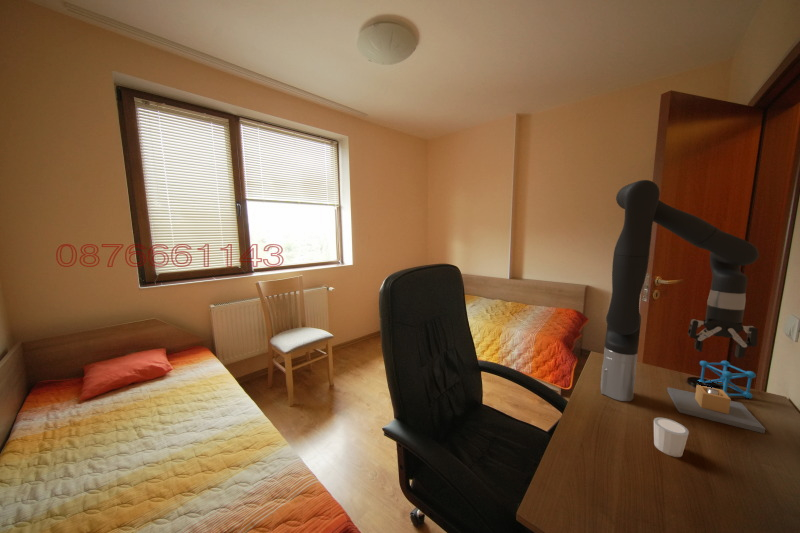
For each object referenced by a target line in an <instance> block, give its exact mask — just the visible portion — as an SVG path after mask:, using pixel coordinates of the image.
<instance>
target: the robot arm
mask: <svg viewBox="0 0 800 533" xmlns="http://www.w3.org/2000/svg"><path fill="white" fill-rule="evenodd" d="M615 197H616V199H615V200H616V204H618V206H619V207H620V208H621V209H623V210H624V222H623V226H622V229H621V232H620V234H619V236H618V239H617V240H616V243H615V247H614V249H613V256H612V265H611V266H612V268H611V269H612V271H611V284H612V285H611V286H612V288H611V290H612V292H611V298H610V303H609V308H608V311H607V314H606V318H605V319H606V320H605V321H606V324H607V325H606V333H605V338H604V348H603V349H604V350H603V362H602V364H601V374H600V375H601V376H600V385H599V386H600V392H601V395H605V396H607V397H609V398H610V399H613V400H615V401H621V402H631V401H633V399H634V395H635V394H634V391H635V382H636V372H637V361H638V352H639V345H640V344H639V342H640V334H641V326H642V325H641V324H642V323H641V322H642V315H641V313H640V299H641V294H642V289H643V287H644V284H645V281H646V276H647V273H648V267H649V262H650V261H649V260H650V253H651V242H652V241H651V240H652V230H653V224H654V223H656V224H658V225H660V226H661V227H663V228H664V229H666V230H667V231H669V232H671V233H672V234H675V235H676V236H678V237H679V238H681V239H682V240H685V241H687V243H689V244H691V245H693V246H695V247H696V248H699V249H702V250H706V251H709V252H710V253H709V263H710V270H711V274H712V279H711V285H710V290H709V295H708V299H707V301H706V303H707V306H706V312H705V318H704V320H698V319H695V318H691V319H690V322H689V324H688V330H687V335H688V336H689V337H690V338H692V339H694V345H693V347H694V349H695V350H697V352H699V353H702V352H703V346H704V340H705V339H707V338H711V336H714V337H723V338H726V339H730V338H732V339H733V340H734V341H735V342H736V343H737V344H736V345H735V351H734V357H735V358H737V359H742V358H744V357H745V355H746V349H747V348H748V347H749V348H750V347H752V348H755V347H757V345H758V332H759V329H758V327H755V326H753V325H747V326H746V325H743V321H744V320H743V319H744V314H745V307H746V302H747V299H746V295H747V294H746V292H747V288H748V276H747V275H746V274H744V273H742V271H741V267H742V266H749V265H752V264H753V263H755V262H756V261H757V260H758V259H759V257H760V253H759V250H758V248H757V247H756V246H755V244H752V243H751V242H749V241H747V240H745V239H743V238H740V237H738V236H735V235H733V234H731V233H728V232H725V231H723V230H721V229H719V228H718V227H716V226H715V225H713V224H711V223H709V222H708V221H705V220H704V219H702V218H700V217H698V216H696V215H694V214H692V213H689V212H686V211H683V210H682V209H677V208H675V207H672V206H671V205H668V204H667V203H665V202H663V201H661V200H660V188H659V186H658V184H657V183H655V182H654V181H652V180H649V179H641V180H637V181H635V182H631V183H629V184H627V185H625V186H623V187H622V188H620V189H619V190H618V192H617V193H616V196H615ZM740 266H741V267H740ZM702 325H703V326H704V327H705V328H703V329H702V330H701V331H700V332H699V333H697V331H698V328H700V327H701V326H702ZM742 331H744V332H745V333H746V340H743V338H742V337H741V336H740V335H739V333H740V332H742Z"/></svg>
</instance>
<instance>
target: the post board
mask: <svg viewBox="0 0 800 533" xmlns="http://www.w3.org/2000/svg"><path fill="white" fill-rule="evenodd" d="M666 391H667V393H668V394H669V397H670V398H671V400H672V402H673V405H674V407H676V409H677V411H678V413H681V414H684V415H688V416H692V417H696V418H697V417H698V418H701V419H705V420H708V421H713V422H717V423H721V424H725V425H730V426H732V427H736V428H741V429H744V430H745V429H746V430H749V431H753V432H757V433H761V434H766V432H765V431H766V428H765V427H764V426H763V425H762V423H761V422H760V421H759V420H758V419H757V418H756V417H755V416H754V414H752V412H750V411H749V409H748V408H747V407H746V406H745V405H744V404H743V403H742V402H739V401H733V400H731V401H730V408H729V414H726V413H722V412H718V411H714V410H710V409H705V408H701V406H700V405H699V403H698V402H697V400H696V399H695V394H696V392H691V391H687V390H682V389H677V388H674V387H669V386H667V390H666Z"/></svg>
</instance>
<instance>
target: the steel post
mask: <svg viewBox="0 0 800 533" xmlns="http://www.w3.org/2000/svg"><path fill="white" fill-rule="evenodd" d="M718 392H719V391H717V390H715V389H712V388H708V389H707V393H710V394H714V395H718Z"/></svg>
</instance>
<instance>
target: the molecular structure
mask: <svg viewBox="0 0 800 533" xmlns="http://www.w3.org/2000/svg"><path fill="white" fill-rule="evenodd" d="M699 365H700V366H701V374H700V379H698V380H697V381H699V382H703V383H712V382H714V383H716V384H715V385H719V384H722V383H723V385H720V386H721V387H722V390H723V391H724V392H725V393H726V394H727V396H728V397H729V398H731V397H744V398H745V397H746V398H745V399H748V398H749V399H752V398H753V397H754V396H753V394H752V393H751V392H750V391H751V387H752V386H751V385H752V379H755V378H756V377H757V374H756V373H755V372H754V371H751V370H743V369H742V368H739V367H736V366H734V365H731V363H730V362H729V361H727V360H721V361H720V362H708V361H706V360H700V361H699ZM715 366H722V370H721V369H719V368H716V367H715ZM729 367H730V368H732V369H734V370H737V371H738V372H739V373H737V372H736V373H732V372H731V371H728V368H729ZM706 368H707V369H709V370H710V371H711V372H713V373H714V374H716V375H717V376H719V377H720V378H717V379H709V380H705V374H706V373H705V372H706V371H705V370H706ZM740 372H741V373H740ZM720 373H721V374H720ZM746 377H747V385H746V390H744V389H741V388H740V387H739V386H737V385H736V384H735V383H733V382H732V381H731V380H733V379H739V378H740V379H741V378H746ZM710 380H711V381H710ZM717 382H722V383H717ZM729 385H730V386H729ZM732 385H734V386H732ZM711 387H712V386H711ZM712 388H714V387H712ZM728 388H729V389H731V390H734V391H736V392H738V393H728V392H727V391H728ZM747 388H748V389H747Z"/></svg>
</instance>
